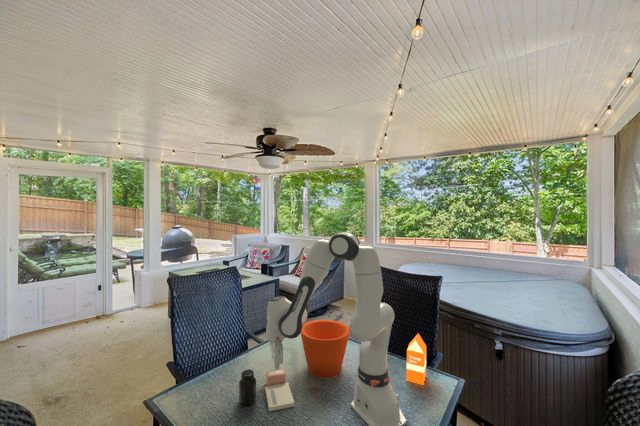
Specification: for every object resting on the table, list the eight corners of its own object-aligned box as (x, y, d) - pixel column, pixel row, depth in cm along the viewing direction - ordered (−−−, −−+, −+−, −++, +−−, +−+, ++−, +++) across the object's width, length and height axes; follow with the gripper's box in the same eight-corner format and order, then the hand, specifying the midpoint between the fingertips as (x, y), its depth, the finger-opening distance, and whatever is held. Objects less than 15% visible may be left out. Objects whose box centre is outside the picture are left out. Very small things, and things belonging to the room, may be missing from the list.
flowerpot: (349, 357, 148) (349, 320, 148) (349, 386, 123) (350, 342, 124) (303, 354, 151) (304, 318, 151) (294, 382, 126) (295, 338, 126)
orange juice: (406, 381, 128) (406, 338, 128) (409, 372, 135) (409, 331, 136) (424, 386, 124) (424, 341, 124) (426, 376, 132) (426, 334, 132)
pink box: (285, 385, 123) (285, 373, 123) (267, 388, 121) (267, 376, 121) (283, 380, 127) (283, 368, 127) (266, 383, 125) (266, 371, 125)
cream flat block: (294, 406, 110) (294, 402, 110) (269, 411, 107) (269, 407, 107) (287, 385, 123) (287, 381, 123) (265, 389, 120) (265, 385, 120)
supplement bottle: (249, 394, 117) (249, 366, 117) (259, 401, 113) (260, 371, 113) (235, 402, 112) (235, 373, 112) (245, 410, 107) (245, 379, 107)
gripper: (287, 342, 115) (286, 375, 116) (279, 323, 135) (278, 351, 135) (272, 344, 114) (271, 378, 114) (266, 324, 133) (265, 353, 133)
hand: (275, 363), depth 125 cm, fingers open, 8 cm apart
